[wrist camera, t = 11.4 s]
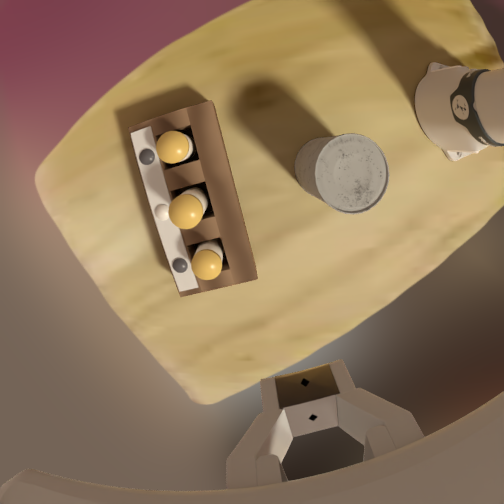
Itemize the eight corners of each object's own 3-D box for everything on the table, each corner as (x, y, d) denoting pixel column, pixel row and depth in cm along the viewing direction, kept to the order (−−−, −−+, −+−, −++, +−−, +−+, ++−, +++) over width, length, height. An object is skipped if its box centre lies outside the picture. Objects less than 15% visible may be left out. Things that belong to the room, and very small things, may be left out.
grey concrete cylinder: (288, 191, 45) (306, 206, 33) (300, 131, 42) (323, 124, 30) (346, 203, 46) (379, 221, 34) (358, 145, 43) (395, 146, 31)
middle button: (204, 183, 41) (197, 190, 33) (212, 211, 42) (206, 224, 35) (177, 191, 41) (164, 200, 33) (185, 218, 42) (174, 232, 35)
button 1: (193, 131, 41) (183, 126, 33) (199, 157, 42) (191, 157, 34) (166, 139, 41) (152, 136, 33) (173, 164, 42) (160, 167, 35)
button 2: (220, 232, 46) (217, 247, 38) (227, 256, 47) (225, 276, 40) (195, 238, 46) (187, 255, 38) (202, 262, 47) (196, 283, 40)
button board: (214, 105, 40) (211, 100, 35) (255, 266, 48) (257, 279, 44) (139, 129, 40) (128, 127, 35) (185, 283, 49) (180, 297, 44)
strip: (151, 126, 36) (150, 125, 35) (198, 286, 43) (198, 288, 43) (131, 133, 36) (129, 133, 35) (179, 290, 44) (179, 292, 43)
